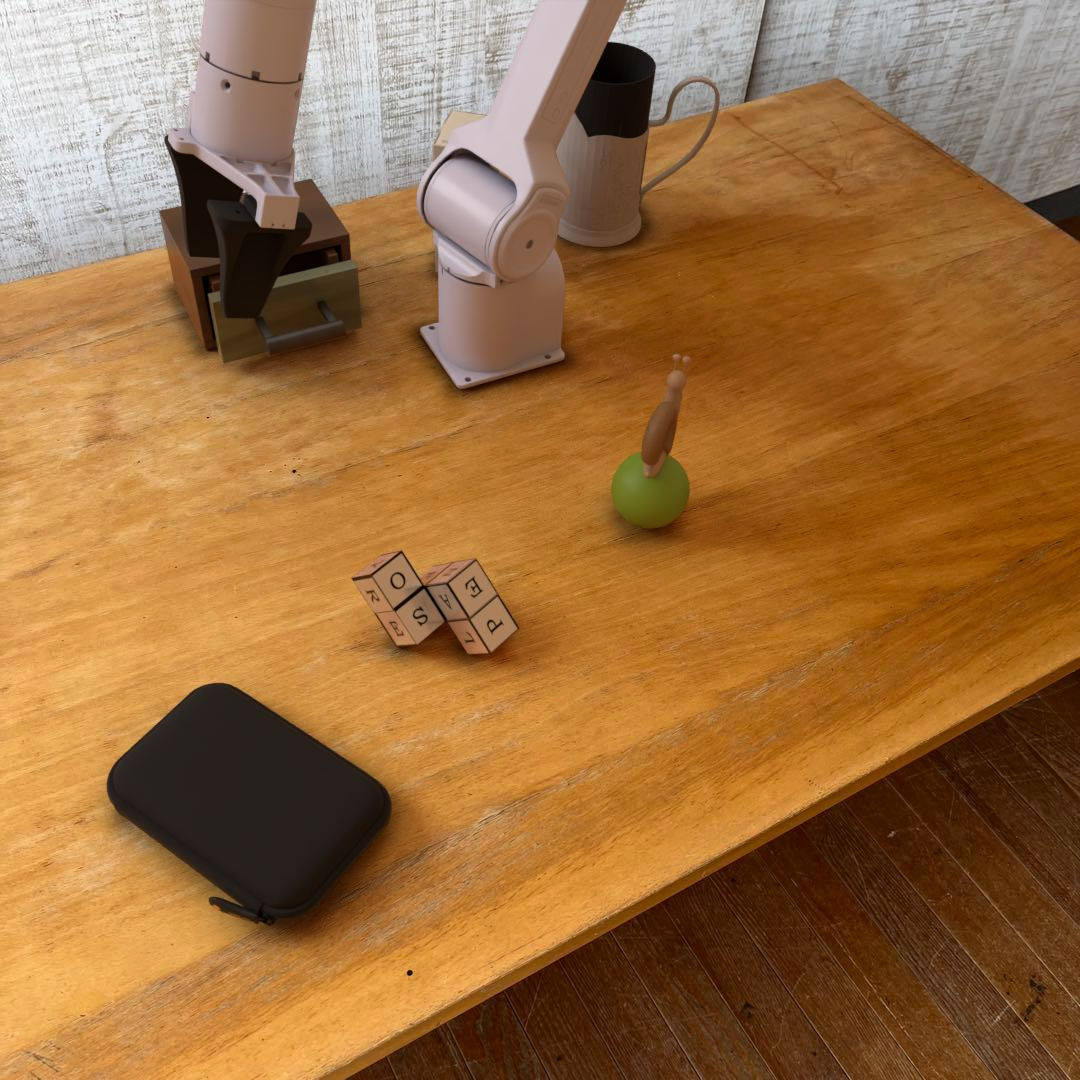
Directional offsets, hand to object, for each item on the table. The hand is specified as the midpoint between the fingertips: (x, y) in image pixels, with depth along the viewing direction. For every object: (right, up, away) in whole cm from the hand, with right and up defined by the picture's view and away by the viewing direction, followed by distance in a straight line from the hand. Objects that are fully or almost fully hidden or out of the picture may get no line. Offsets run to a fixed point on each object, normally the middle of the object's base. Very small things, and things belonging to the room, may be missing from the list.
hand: (221, 284), depth 73 cm
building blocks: (+13, -22, +3) cm, 26 cm away
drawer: (0, +1, +21) cm, 21 cm away
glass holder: (+27, +14, +36) cm, 47 cm away
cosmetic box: (+13, +9, +31) cm, 34 cm away
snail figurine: (+27, -14, +11) cm, 33 cm away
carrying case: (+3, -32, -6) cm, 32 cm away
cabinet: (-3, +4, +25) cm, 25 cm away
